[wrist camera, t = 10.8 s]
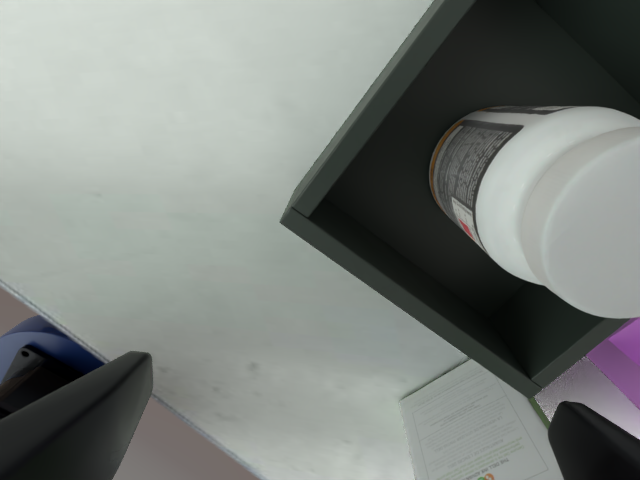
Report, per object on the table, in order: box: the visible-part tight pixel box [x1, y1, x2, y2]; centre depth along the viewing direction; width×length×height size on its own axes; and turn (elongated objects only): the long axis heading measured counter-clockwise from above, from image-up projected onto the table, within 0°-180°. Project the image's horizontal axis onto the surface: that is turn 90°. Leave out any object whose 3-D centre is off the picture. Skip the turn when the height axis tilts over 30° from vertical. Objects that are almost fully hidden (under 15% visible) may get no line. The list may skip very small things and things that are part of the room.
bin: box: [280, 0, 640, 399], centre depth 16 cm, size 14×14×6 cm
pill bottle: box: [429, 106, 640, 319], centre depth 13 cm, size 6×6×10 cm
